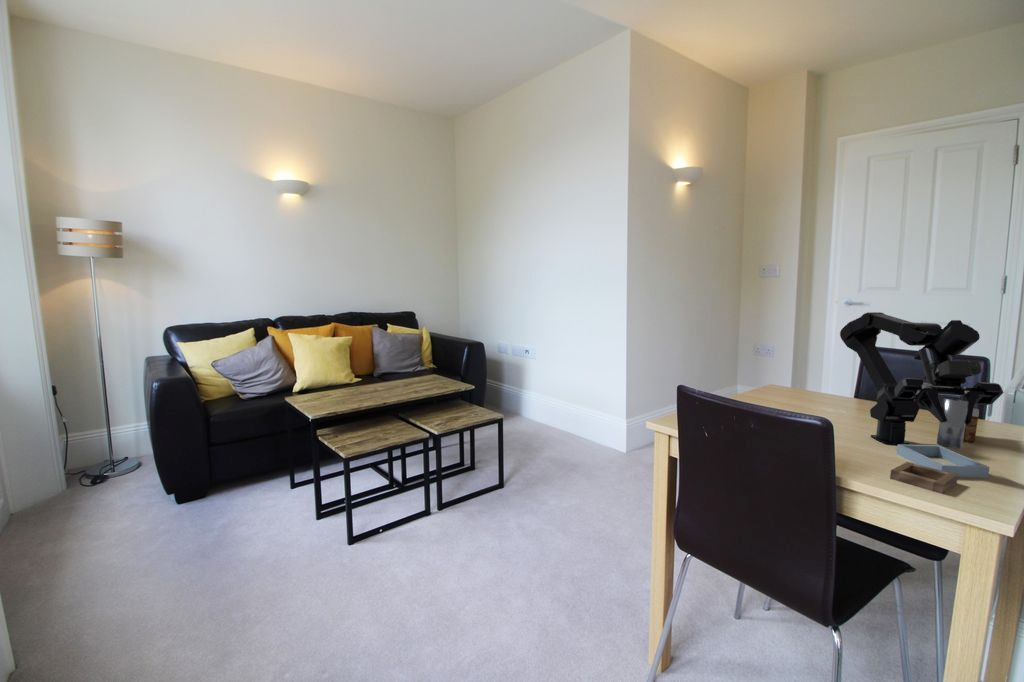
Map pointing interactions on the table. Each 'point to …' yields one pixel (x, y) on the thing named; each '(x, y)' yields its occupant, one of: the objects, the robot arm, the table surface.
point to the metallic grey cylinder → (953, 422)
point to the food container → (971, 427)
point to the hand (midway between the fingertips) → (955, 422)
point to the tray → (963, 464)
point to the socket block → (924, 477)
